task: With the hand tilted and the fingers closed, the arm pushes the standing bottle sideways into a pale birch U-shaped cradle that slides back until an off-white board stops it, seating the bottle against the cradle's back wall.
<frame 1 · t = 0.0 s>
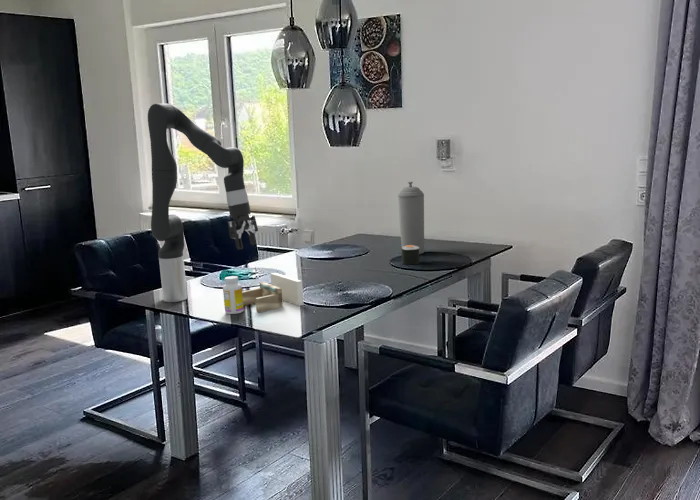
hand: (247, 246, 246), 22 cm above the table, tool pointing down, fingers open, 8 cm apart
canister: (413, 253, 331), on the table
supplement bottle: (234, 312, 244), on the table
cradle: (260, 296, 249), point 3 cm above the table, slide at 0.0 cm
backstop board: (287, 300, 256), on the table
sushi: (410, 263, 310), on the table
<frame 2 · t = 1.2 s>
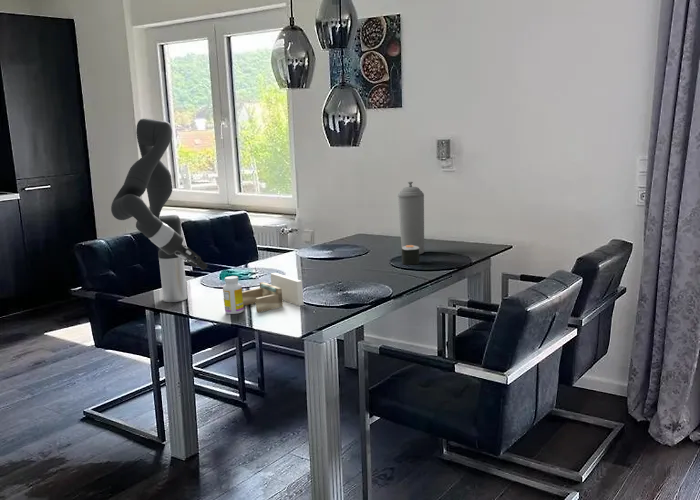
hand: (200, 266, 234), 19 cm above the table, tool tilted 45°, fingers open, 7 cm apart
nothing on the table moved.
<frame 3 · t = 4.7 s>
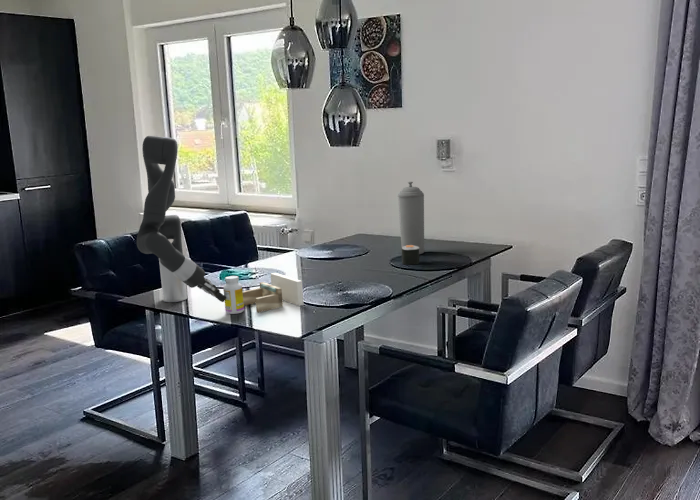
hand: (223, 299, 241), 5 cm above the table, tool tilted 45°, fingers closed
supplement bottle: (235, 312, 244), on the table, touching gripper
everything else where it was.
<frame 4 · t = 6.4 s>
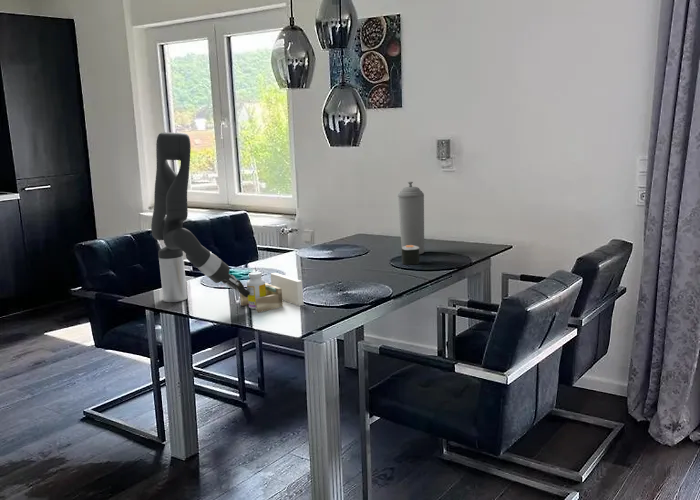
hand: (247, 294, 245), 5 cm above the table, tool tilted 45°, fingers closed
supplement bottle: (258, 307, 249), on the table, touching gripper
everything else where it was.
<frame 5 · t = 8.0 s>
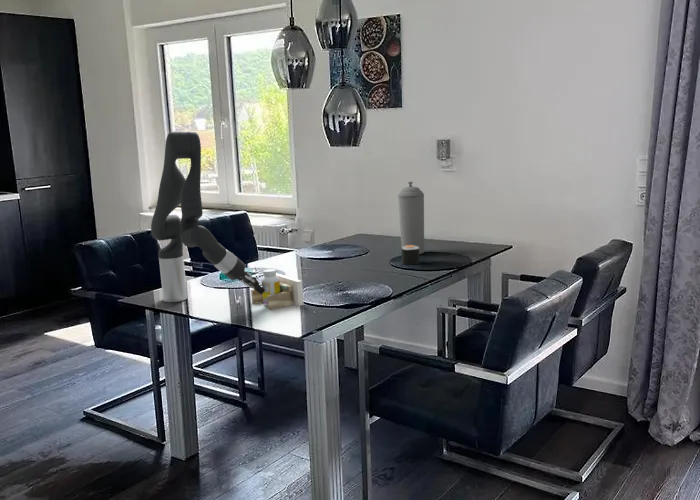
hand: (262, 291, 249), 5 cm above the table, tool tilted 45°, fingers closed
supplement bottle: (272, 304, 252), on the table, touching cradle, gripper
cradle: (272, 294, 252), point 3 cm above the table, slide at 4.7 cm, touching supplement bottle
everything else where it was.
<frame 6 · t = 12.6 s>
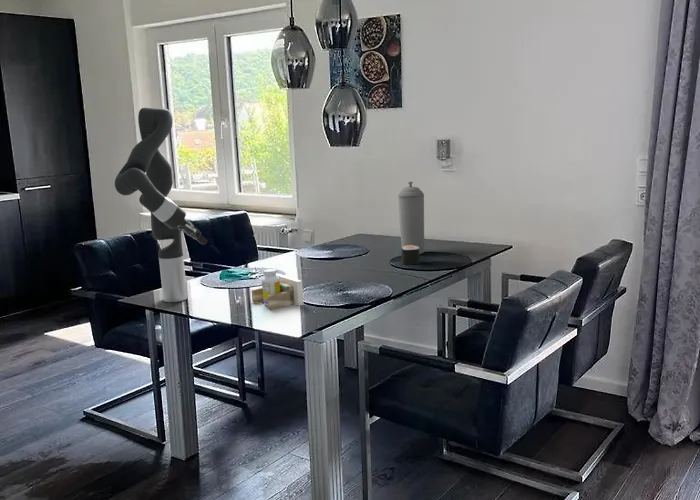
hand: (205, 242, 238), 26 cm above the table, tool tilted 45°, fingers closed
supplement bottle: (272, 304, 252), on the table
cradle: (272, 294, 252), point 3 cm above the table, slide at 4.8 cm
everything else where it was.
at the end: supplement bottle inside the target area on the cradle (1.2 cm from its centre), point 0.0 cm above the cradle's base; cradle slide at 4.8 cm; supplement bottle tilted 0° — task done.
